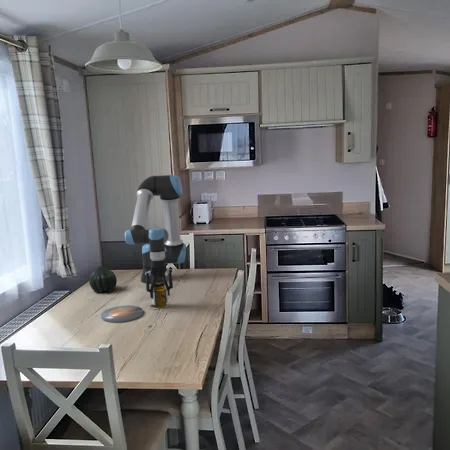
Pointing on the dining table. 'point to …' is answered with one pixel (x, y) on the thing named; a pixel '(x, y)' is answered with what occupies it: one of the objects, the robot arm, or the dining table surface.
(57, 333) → the dining table surface
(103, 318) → the ring stand
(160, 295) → the condiment
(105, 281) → the squash
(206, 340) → the dining table surface
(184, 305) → the dining table surface
